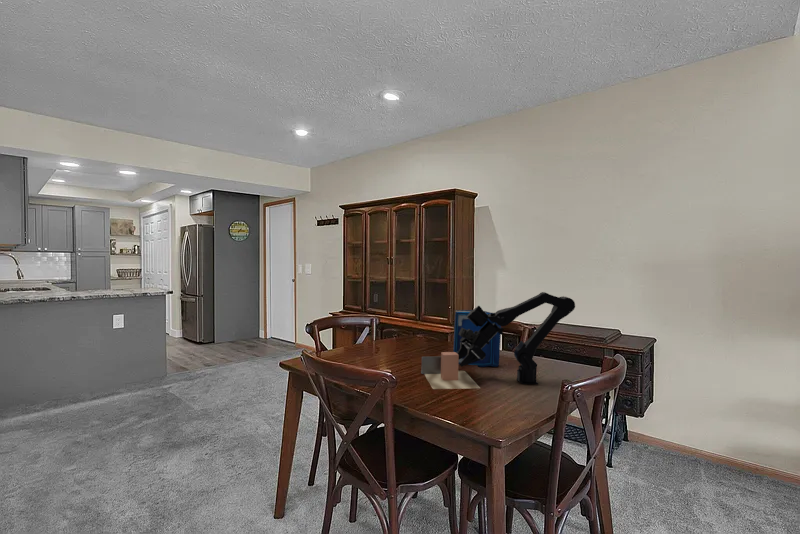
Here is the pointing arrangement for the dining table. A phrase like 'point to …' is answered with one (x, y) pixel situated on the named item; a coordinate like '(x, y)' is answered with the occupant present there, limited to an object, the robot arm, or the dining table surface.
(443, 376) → the salmon pink rectangular block
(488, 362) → the book
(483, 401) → the dining table surface
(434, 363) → the bookend
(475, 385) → the beige cloth placemat
